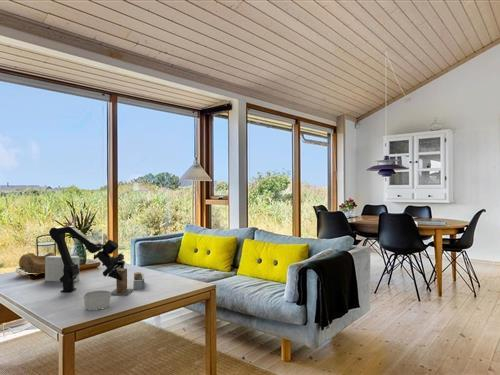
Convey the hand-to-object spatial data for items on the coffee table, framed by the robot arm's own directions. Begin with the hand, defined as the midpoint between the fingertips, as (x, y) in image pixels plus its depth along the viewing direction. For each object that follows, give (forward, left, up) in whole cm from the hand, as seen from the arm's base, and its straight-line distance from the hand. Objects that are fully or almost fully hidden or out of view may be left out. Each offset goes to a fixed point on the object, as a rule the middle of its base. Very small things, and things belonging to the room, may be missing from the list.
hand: (124, 278), depth 213 cm
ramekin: (-25, +3, -9) cm, 27 cm away
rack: (+15, -3, -8) cm, 17 cm away
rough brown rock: (+34, +76, -9) cm, 84 cm away
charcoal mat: (0, +1, -8) cm, 8 cm away
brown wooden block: (0, +1, -8) cm, 8 cm away
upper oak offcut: (+14, -2, -4) cm, 15 cm away
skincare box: (+21, +51, -9) cm, 56 cm away
